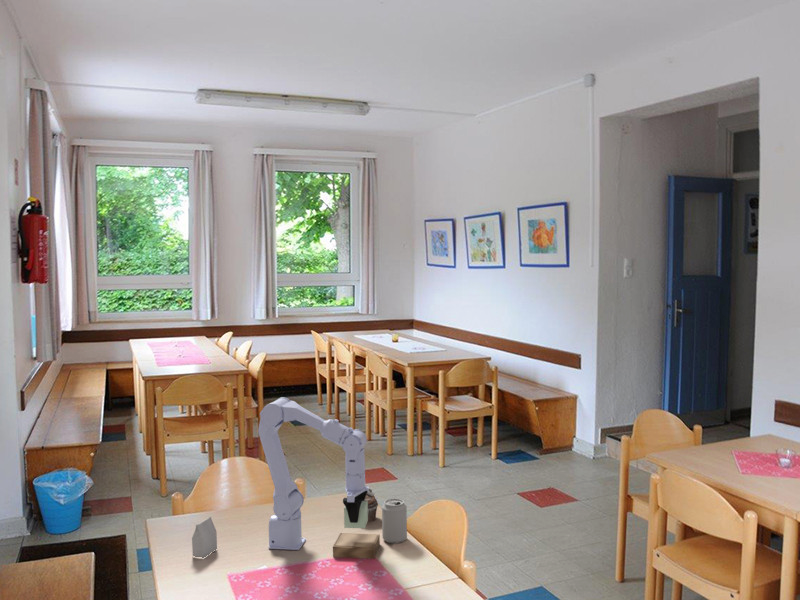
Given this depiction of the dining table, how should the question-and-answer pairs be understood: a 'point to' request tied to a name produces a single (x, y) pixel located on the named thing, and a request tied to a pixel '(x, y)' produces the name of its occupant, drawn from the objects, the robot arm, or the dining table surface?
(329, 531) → the dining table surface
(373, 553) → the brown shallow tray
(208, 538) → the grey angular block
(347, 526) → the green cube
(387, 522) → the can
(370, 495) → the cupcake
